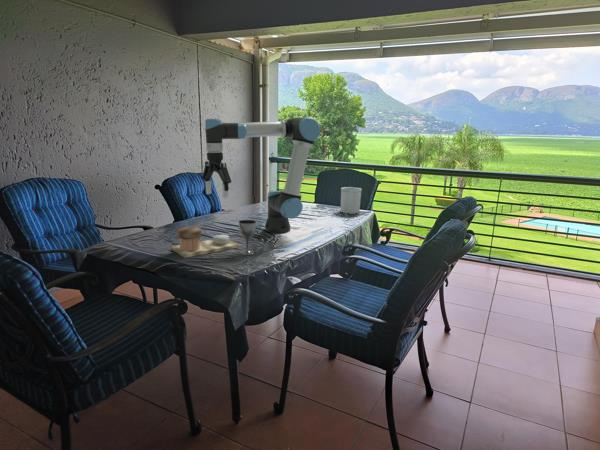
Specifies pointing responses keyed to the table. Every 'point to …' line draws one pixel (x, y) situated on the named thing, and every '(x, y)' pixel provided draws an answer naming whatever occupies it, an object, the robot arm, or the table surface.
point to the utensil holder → (350, 200)
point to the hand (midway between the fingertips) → (217, 195)
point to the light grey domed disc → (221, 239)
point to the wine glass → (247, 233)
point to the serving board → (205, 248)
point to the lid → (189, 233)
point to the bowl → (189, 244)
